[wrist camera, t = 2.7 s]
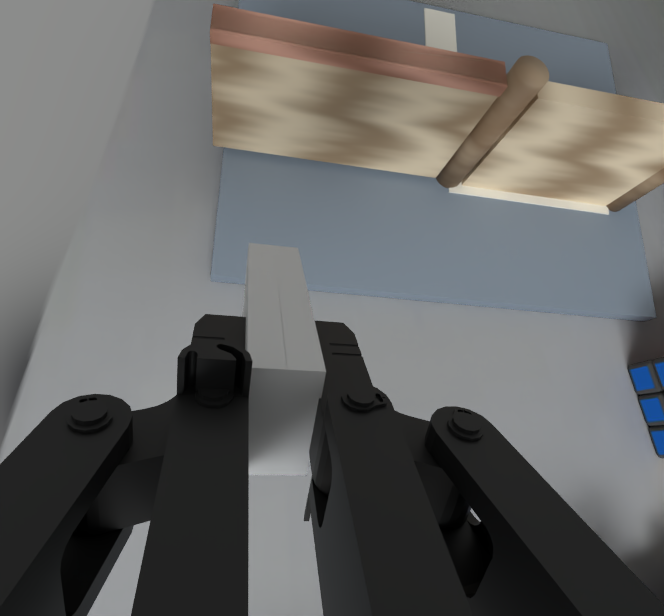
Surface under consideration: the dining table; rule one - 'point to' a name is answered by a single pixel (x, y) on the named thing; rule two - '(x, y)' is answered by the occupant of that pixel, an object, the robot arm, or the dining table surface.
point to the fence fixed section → (562, 143)
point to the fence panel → (343, 93)
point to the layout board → (436, 196)
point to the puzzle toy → (651, 397)
